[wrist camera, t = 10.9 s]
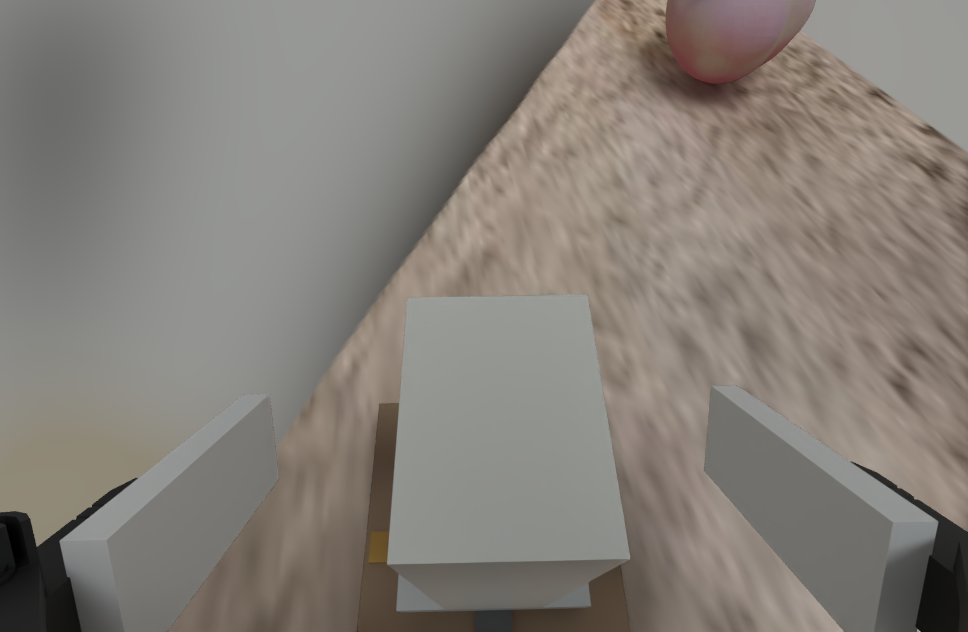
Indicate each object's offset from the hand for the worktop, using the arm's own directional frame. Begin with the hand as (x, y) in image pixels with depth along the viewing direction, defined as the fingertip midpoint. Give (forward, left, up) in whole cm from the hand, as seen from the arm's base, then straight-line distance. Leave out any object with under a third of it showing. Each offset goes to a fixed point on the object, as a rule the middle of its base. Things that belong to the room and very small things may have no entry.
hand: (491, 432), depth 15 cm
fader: (+2, +1, -5) cm, 5 cm away
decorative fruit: (-33, -6, -7) cm, 34 cm away
